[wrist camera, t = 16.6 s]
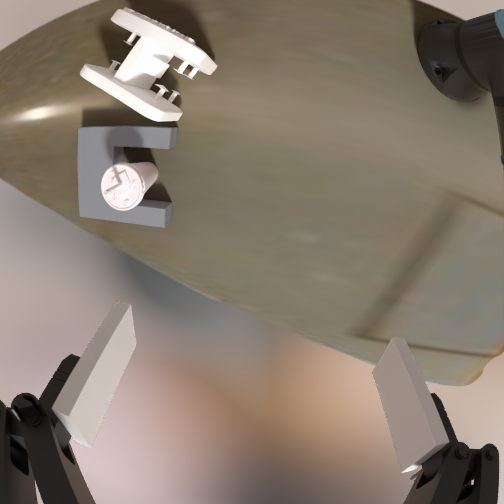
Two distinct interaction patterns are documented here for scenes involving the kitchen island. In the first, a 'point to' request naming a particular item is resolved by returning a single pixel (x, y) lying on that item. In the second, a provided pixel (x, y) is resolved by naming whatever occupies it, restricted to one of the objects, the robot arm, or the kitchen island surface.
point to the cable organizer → (148, 66)
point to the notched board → (108, 154)
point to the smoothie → (127, 183)
